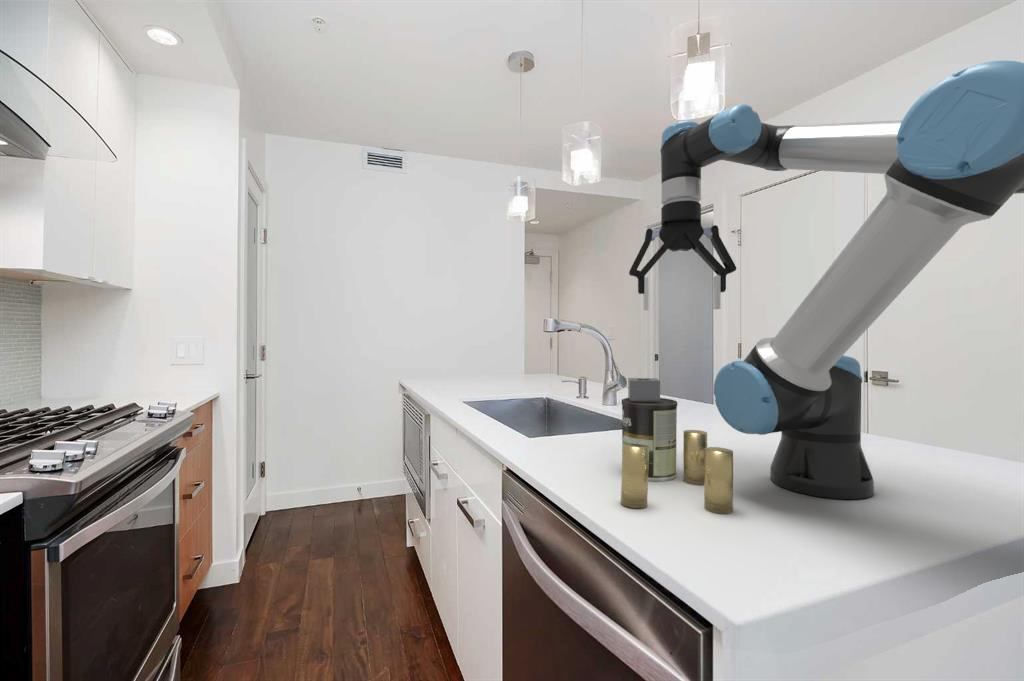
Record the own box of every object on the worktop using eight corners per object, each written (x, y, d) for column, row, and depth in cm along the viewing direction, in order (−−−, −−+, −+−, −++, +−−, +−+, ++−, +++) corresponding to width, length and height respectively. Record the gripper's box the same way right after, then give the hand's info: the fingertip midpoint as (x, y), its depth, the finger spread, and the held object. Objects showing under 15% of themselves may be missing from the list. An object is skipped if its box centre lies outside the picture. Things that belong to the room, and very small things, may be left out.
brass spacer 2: (704, 479, 86) (704, 430, 85) (709, 485, 82) (709, 434, 82) (681, 477, 86) (681, 429, 86) (685, 484, 82) (685, 433, 82)
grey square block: (656, 398, 92) (656, 377, 92) (660, 402, 87) (660, 380, 86) (628, 397, 93) (628, 377, 93) (629, 401, 88) (629, 380, 88)
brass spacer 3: (729, 505, 72) (729, 447, 72) (736, 515, 68) (736, 454, 68) (701, 503, 73) (701, 446, 73) (707, 513, 69) (707, 452, 69)
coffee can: (624, 480, 85) (624, 403, 85) (619, 465, 95) (619, 396, 95) (683, 482, 83) (683, 404, 83) (671, 467, 94) (671, 397, 94)
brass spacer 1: (641, 499, 75) (643, 443, 75) (651, 508, 71) (653, 449, 71) (617, 499, 74) (619, 443, 75) (625, 508, 70) (628, 448, 71)
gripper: (742, 205, 95) (742, 309, 95) (617, 212, 100) (617, 311, 100) (753, 194, 87) (753, 307, 88) (617, 202, 92) (618, 309, 93)
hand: (680, 309), depth 94 cm, fingers open, 13 cm apart
